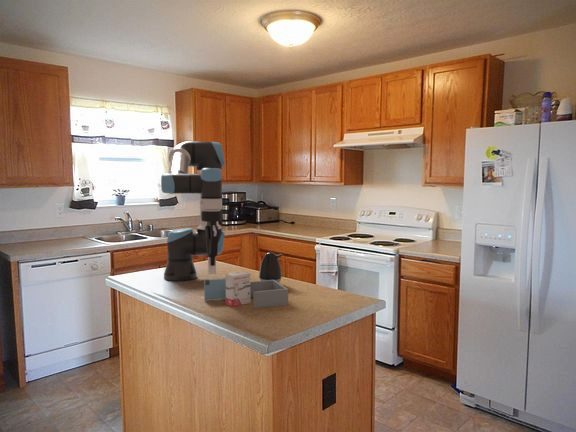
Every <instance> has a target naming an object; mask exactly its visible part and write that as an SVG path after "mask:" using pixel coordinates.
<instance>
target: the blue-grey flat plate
mask: <svg viewBox="0 0 576 432" xmlns="http://www.w3.org/2000/svg"><path fill="white" fill-rule="evenodd" d="M203 285H204V286H203V289H204V293H203V294H204V295H203V299H204V301H213V300H222V299H223V300H226V277H224V278H220V277H219V278H207V279H203Z"/></svg>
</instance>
